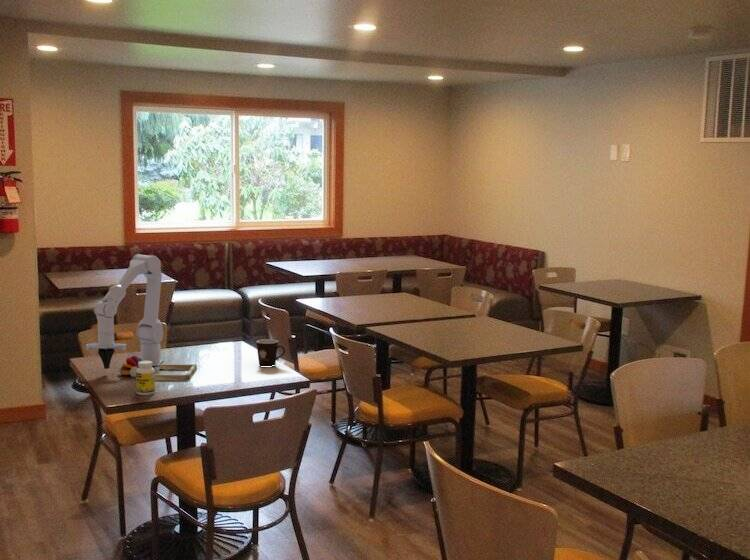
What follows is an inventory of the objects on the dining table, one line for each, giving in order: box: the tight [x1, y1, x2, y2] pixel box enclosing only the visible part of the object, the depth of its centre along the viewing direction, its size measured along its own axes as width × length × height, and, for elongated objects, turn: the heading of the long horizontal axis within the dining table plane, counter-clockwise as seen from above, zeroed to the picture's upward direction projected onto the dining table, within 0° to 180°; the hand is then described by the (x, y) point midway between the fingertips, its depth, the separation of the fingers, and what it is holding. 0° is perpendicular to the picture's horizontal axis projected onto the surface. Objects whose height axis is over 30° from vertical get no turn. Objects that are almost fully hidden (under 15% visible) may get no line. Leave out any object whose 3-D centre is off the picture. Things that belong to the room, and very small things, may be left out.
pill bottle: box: [135, 361, 156, 396], centre depth 270 cm, size 6×6×11 cm
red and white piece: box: [118, 355, 143, 378], centre depth 295 cm, size 8×10×7 cm
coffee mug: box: [256, 338, 286, 367], centre depth 312 cm, size 12×9×10 cm
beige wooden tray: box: [155, 363, 198, 381], centre depth 296 cm, size 17×14×2 cm
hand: (106, 368), depth 294 cm, fingers closed
